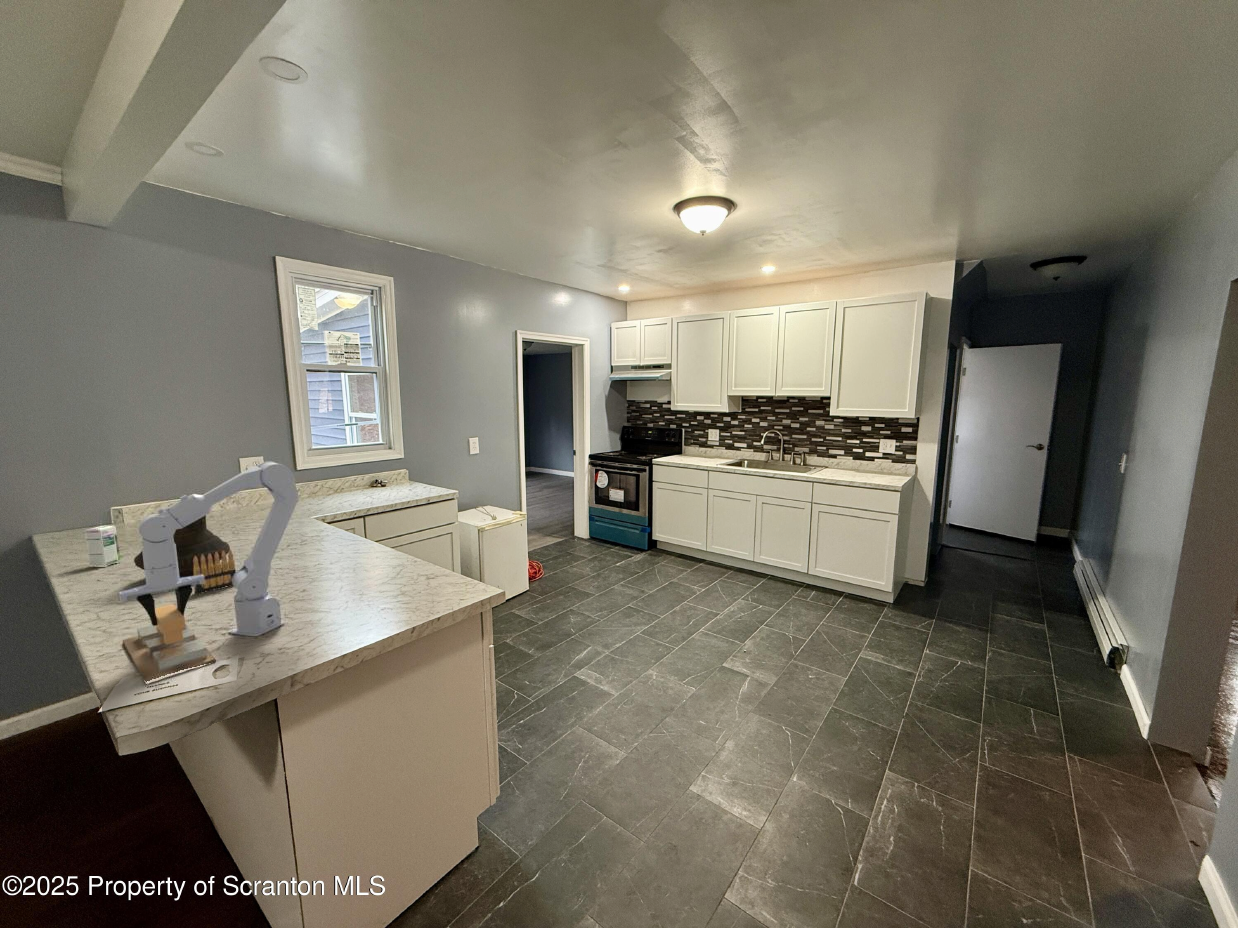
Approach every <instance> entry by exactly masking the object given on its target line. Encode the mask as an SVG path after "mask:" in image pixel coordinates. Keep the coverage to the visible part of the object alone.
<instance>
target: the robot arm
mask: <svg viewBox="0 0 1238 928" xmlns="http://www.w3.org/2000/svg"><path fill="white" fill-rule="evenodd" d="M263 487H265V488H266V489H268V492H269V493H270V495H271V496H272V497H273V499H274V501H273V503H272V504H271V507H270V509H269V512H268V514H267V516H266V518H265V520H264V523H263V525H262V527H261V530H260V532H259V535H258V536H257V537H256V541H255V543H254V545H253V547H252V550H251V553H249V556H248V558H246V559H245V561H244V562H243V564H242V566H241V567H240V569H238V570H237V571H236V573H235V574H234V576H233V578H232V584H233V587H234V588H235V589H236V592H235V593H236V594H235V595H234V596H233V603H234V611H235V621H236V622H235V623H236V627H235V628H234V627H233V628H232V629H230V630H228V634H234V635H240V636H248V637H249V636H250V637H255V638H256V637H259V636H262V635H263V634H265V633H267V632H270V631H272V630H274V629H277V628H278V627H280V626H283V625H285V621H282V615H281V605H280V604H281V603H280V601H279V600H278V599H277V598H276V597H273V596H272V595H271V594H270V593H269V586H270V585H269V576H270V574H271V568H272V567H271V566H272V561H273V558H274V556H275V553H277V552H276V551H277V549H278V548H279V545H280V543H281V541H282V538H283V536H284V534H285V531H286V529H287V526H288V525H289V523H290V519H291V517H292V516H293V513H294V511H295V509H296V507H297V503H298V501H299V493H298V489H297V485H296V477H295V475H294V474H293V473H292V471H291V470H290V469H289V467H288V466H286V465H284V464H282V463H277V462H274V461H264V462H261V463H260V464H258V466H252V467H250V468H248V469H246V470H243V471H242V472H240V473H238V474H237V475H235V476H233V477H231V478H230V479H227V480H226V481H224V482H223V483H221V484H219V485H218V486H216V487H214V488H213V489H210V490H209V491H207V492H205V493H204V494H196V493H192V494H190V495H186V494H185V495H182V496H180V497H179V499H180V500H178V501H177V502H174V503H173V504H171V505H169V506H167V507H165V508H163V507H161V508H158V509H157V510H156V512H157V513H159V514H157V513H152V514H150V515H147V516H145V517H144V518H142V519H141V521H139V525H138V528H137V529H138V531H139V533H140V536H141V537H142V539H141V546H142V548H141V551H142V553H143V562H144V569H145V570H144V577H145V584H144V585H141V586H137V587H134V588H133V587H132V588H130V589H125V590H122V591H119V592H118V593H119V601H120V602H121V603H124V602H128V601H129V600H130V601H131V600H133V599H136V600H137V601H138V603H139V604H140V605H141V606H142V607H143V608H144V610H145V611H146V613H147V615H148V617H149V619H150V622H151V625H153V626H156V625H157V618H156V614H155V608H156V606H155V605H156V604H155V602H156V601H155V599H154V596H153V595H156V594H161V593H165V592H170V591H174V593H175V599H176V608H177V609H178V610H179V612H180V613H181V614H182V615H183V616H184V617H185V610H186V606H187V605H188V604H187V603H188V602H189V599H190V597H191V595H192V594H193V587H192V586H194V585H197V584H205V578H204V575H197V576H190V577H183V578H180V577H179V568H178V560H177V552H176V544H175V543H174V538H173V535H174V533H175V531H176V529H182V528H183V527H185V526H187V525H189V524H191V523H192V522H194V521H196V520H198V519H200V518H201V517H203V516H205V515H206V516H207V515H209V514H210V512H211V508H212V507H213V506H214V505H216V504H217V503H219V502H222V501H224V500H225V499H227V498H229V497H231V496H233V495H236V494H237V493H239V492H241V491H244V490H246V489H252V488H257V489H258V488H260V489H261V488H263Z"/></svg>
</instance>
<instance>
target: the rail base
mask: <svg viewBox="0 0 1238 928" xmlns="http://www.w3.org/2000/svg"><path fill="white" fill-rule="evenodd" d="M187 629H189V627H187V625H186V630H187ZM195 640H198V637H197V636H196V635H195ZM122 644H123V646H124V648H125V649H126V651H127V653H128V655H129V656H130V658H131V661H132V662H133V664H134V665H135V667H136V669H137V671H138V673H139V675H140V674H141V675H140V676H141V678H142V677H143V678H144V680H145V681H146V682H147V681H150V680H152V679H156V678H159V677H161V676H165V675H167V674H171V673H175V672H178V671H180V670H184V669H188V668H192V667H197V666H200V665H204V664H208V665H210V664H209V663H211V664H214V663H216V662H217V661H216V657H215V656H214V655H213V654H212V653H211V652H210V651H209V650H208V649H207V658H205V659H202V660H199V661H196V662H193V663H190V664H187V665H183V666H180V667H177V668H174V669H171V670H168V671H165V672H162V673H160V672H159V671H158V669H157V668H156V666H155V664H154V661H153V657H152V658H150V656H149V655H148V653H147V652H146V646H143V645H142V644H141V642H140V641H139V639H138V635H135V636H133V637H129V638H125V639H122ZM143 678H142V679H143ZM144 680H143V681H144Z"/></svg>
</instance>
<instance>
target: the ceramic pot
mask: <svg viewBox="0 0 1238 928" xmlns="http://www.w3.org/2000/svg"><path fill="white" fill-rule="evenodd" d="M156 514H159V513H158V512H157V513H156ZM173 538H174V543H175V544H176V552H177V560H178V568H179V577H180V578H183V577H190V576H194V572H193V569H194V563H193V561H194V557H195V556H196V557H197V559H198V563H199V567H200V572H201V555H202V554H203V555H204V557H205V561H206V566H207V570H208V554H209V553H210V554H211V556H212V560H213V565H215V553H216V552H217V553H218V555H219V560H220V561H222V551H224V552H225V554H226V556H227V555H228V553H229V549H231V547H230V545H229V543H228V542H227V541H224V540H222V539H221V537H219V536H218V535H217V534H216V535H215V534H214V533H213V532H212V531H211V530H209V529H208V528H207V515H205V516H203V517H201V518H200V519H198V520H196V521H194V522H192V523H191V524H189V525H187V526H185V527H183V528H182V529H176V531H175V533H174V535H173ZM133 563H134V564H135V566H136V567H137V568H139V569H141V570H143V571H145V569H144V562H143V553H142V550H140V552H139V553H138V554H137V555H136V556H135V557H134V559H133Z"/></svg>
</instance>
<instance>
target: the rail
mask: <svg viewBox="0 0 1238 928" xmlns="http://www.w3.org/2000/svg"><path fill="white" fill-rule="evenodd" d="M186 626H187V625H186V623H185V628H182V631H183V640H181V641H177V642H174V643H170V644H167V645H166V644H165V642H164V636H163V634H162V633H161V632H160V633H158V632H157V631H156V626H153V625H152V624H150V625H147V626H143V627H140V628H136V633H137V636H138V639H139V641H140V642H141V644H142V645H143V646H146V652H147V653H148V655H149V656H150V658H152V657H153V661H154V664H155V666H156V668H157V669H158V671H159V672H160V673H162V672H165V671H168V670H171V669H174V668H177V667H180V666H183V665H187V664H190V663H193V662H196V661H199V660H202V659H205V658H207V650H208V649H207V647H206V645H205V644H204V643H203V642H202V641H201V640H200V639H198V638H197V639H198V640H195V636H196V635H195V633H194V632H193V631H192V630H191V629H190V628H188V629H187V630H186Z"/></svg>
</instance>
